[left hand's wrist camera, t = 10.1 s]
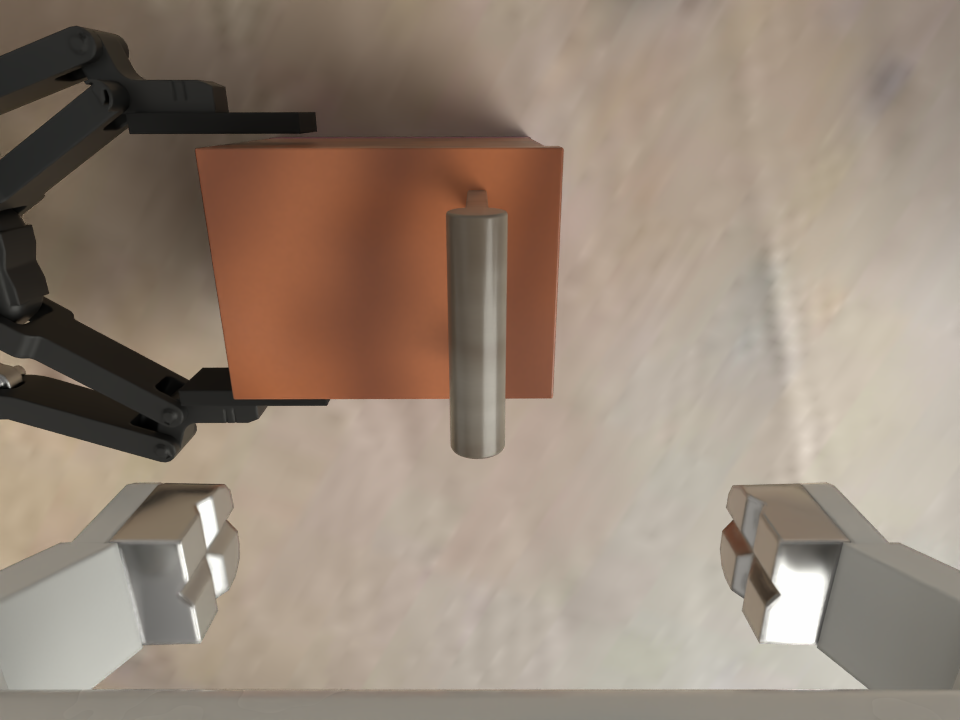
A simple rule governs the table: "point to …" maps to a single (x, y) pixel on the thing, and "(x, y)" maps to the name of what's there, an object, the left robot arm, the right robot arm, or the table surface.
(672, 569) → the table surface
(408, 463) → the table surface
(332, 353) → the lid
